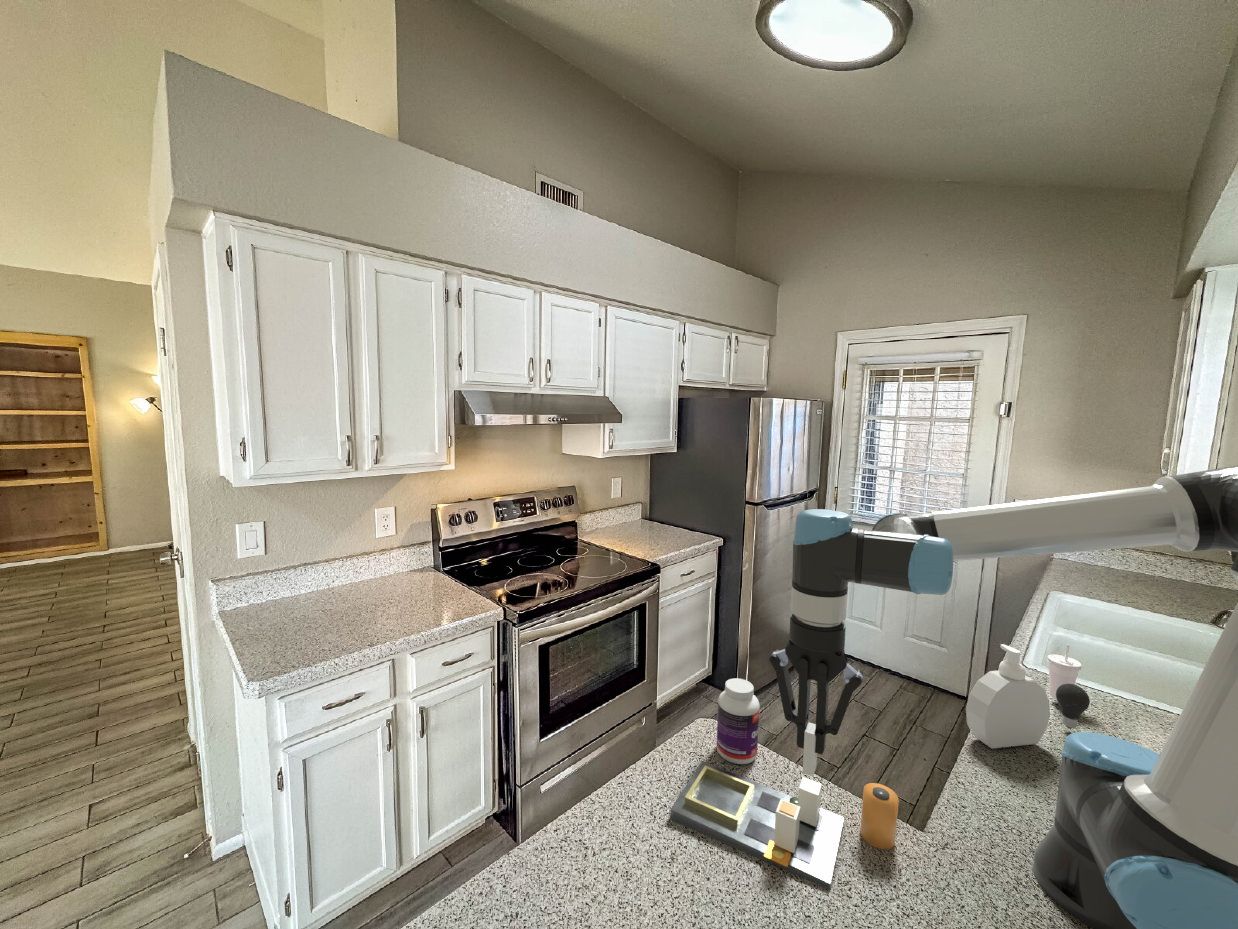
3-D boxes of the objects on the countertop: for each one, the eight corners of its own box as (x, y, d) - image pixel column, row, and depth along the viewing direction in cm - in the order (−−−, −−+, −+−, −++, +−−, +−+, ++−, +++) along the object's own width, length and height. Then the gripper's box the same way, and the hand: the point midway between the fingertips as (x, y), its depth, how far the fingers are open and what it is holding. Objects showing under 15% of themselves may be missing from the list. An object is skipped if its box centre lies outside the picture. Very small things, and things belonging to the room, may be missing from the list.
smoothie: (1053, 703, 123) (1060, 648, 121) (1036, 689, 129) (1043, 636, 128) (1083, 706, 122) (1091, 650, 120) (1065, 692, 128) (1071, 638, 127)
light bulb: (1093, 736, 110) (1098, 692, 109) (1067, 735, 110) (1072, 692, 109) (1070, 720, 116) (1075, 679, 115) (1045, 719, 116) (1050, 678, 115)
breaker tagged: (798, 839, 79) (800, 805, 78) (794, 853, 76) (796, 819, 76) (778, 830, 81) (780, 798, 80) (773, 844, 78) (775, 810, 77)
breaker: (819, 814, 84) (821, 784, 83) (816, 827, 81) (818, 795, 81) (800, 807, 86) (802, 776, 85) (796, 819, 83) (798, 788, 82)
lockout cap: (895, 836, 83) (899, 789, 82) (893, 859, 79) (898, 809, 78) (861, 823, 85) (865, 777, 85) (858, 844, 81) (862, 796, 80)
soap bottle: (1023, 728, 113) (1033, 642, 111) (1047, 743, 108) (1058, 653, 105) (960, 734, 110) (969, 646, 108) (982, 750, 105) (991, 658, 103)
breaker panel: (843, 828, 84) (844, 810, 84) (828, 900, 72) (829, 879, 71) (701, 770, 97) (702, 755, 97) (668, 823, 84) (668, 805, 84)
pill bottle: (758, 770, 97) (762, 699, 96) (715, 763, 99) (718, 693, 98) (755, 743, 105) (759, 677, 104) (716, 737, 107) (719, 672, 105)
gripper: (870, 618, 73) (860, 770, 76) (778, 600, 80) (772, 740, 82) (864, 637, 67) (854, 803, 69) (765, 616, 74) (758, 768, 76)
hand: (809, 769), depth 76 cm, fingers closed
